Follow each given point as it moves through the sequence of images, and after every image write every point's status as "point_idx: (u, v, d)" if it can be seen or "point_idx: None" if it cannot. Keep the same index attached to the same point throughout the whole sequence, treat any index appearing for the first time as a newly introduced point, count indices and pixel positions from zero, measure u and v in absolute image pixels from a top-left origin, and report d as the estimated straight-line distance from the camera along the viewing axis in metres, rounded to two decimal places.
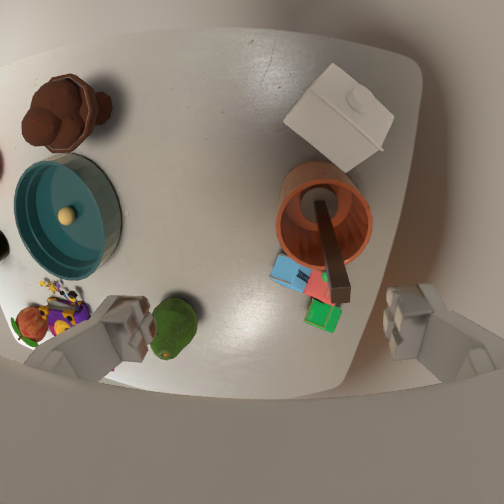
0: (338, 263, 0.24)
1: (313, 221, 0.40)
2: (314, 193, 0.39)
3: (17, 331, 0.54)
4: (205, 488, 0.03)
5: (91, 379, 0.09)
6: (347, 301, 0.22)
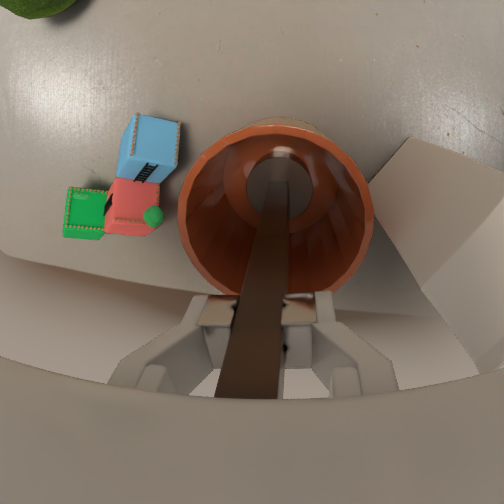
0: (283, 365, 0.08)
1: (250, 180, 0.23)
2: (302, 181, 0.22)
3: None
4: (205, 488, 0.03)
5: (182, 393, 0.08)
6: None
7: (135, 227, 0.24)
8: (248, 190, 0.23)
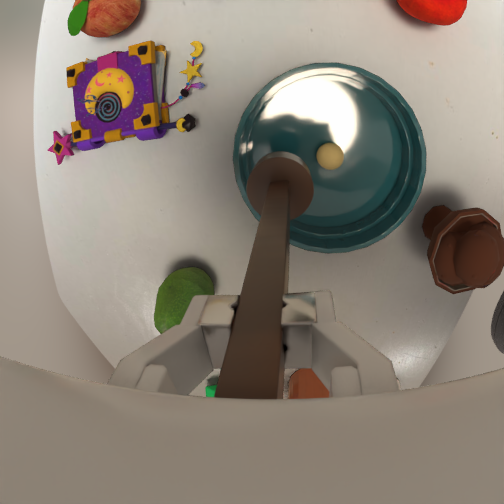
0: (283, 365, 0.08)
1: (250, 180, 0.23)
2: (302, 181, 0.22)
3: None
4: (205, 488, 0.03)
5: (182, 393, 0.08)
6: None
7: None
8: (249, 190, 0.23)
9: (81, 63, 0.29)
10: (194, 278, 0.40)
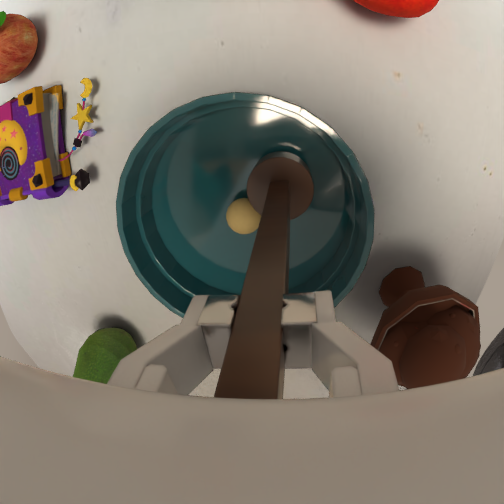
0: (283, 365, 0.08)
1: (250, 180, 0.23)
2: (302, 181, 0.22)
3: None
4: (205, 488, 0.03)
5: (182, 393, 0.08)
6: None
7: None
8: (249, 190, 0.23)
9: None
10: (109, 344, 0.34)
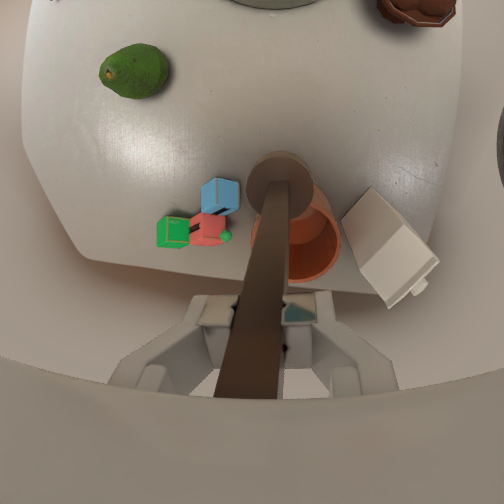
0: (283, 364, 0.08)
1: (250, 180, 0.23)
2: (302, 180, 0.22)
3: None
4: (205, 488, 0.03)
5: (182, 393, 0.08)
6: None
7: (212, 241, 0.44)
8: (249, 190, 0.23)
9: None
10: None
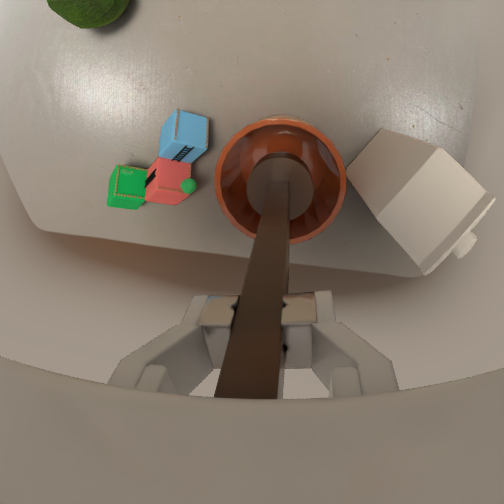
0: (283, 365, 0.08)
1: (250, 180, 0.23)
2: (302, 181, 0.22)
3: None
4: (205, 488, 0.03)
5: (182, 392, 0.08)
6: None
7: (172, 195, 0.32)
8: (249, 190, 0.23)
9: None
10: None
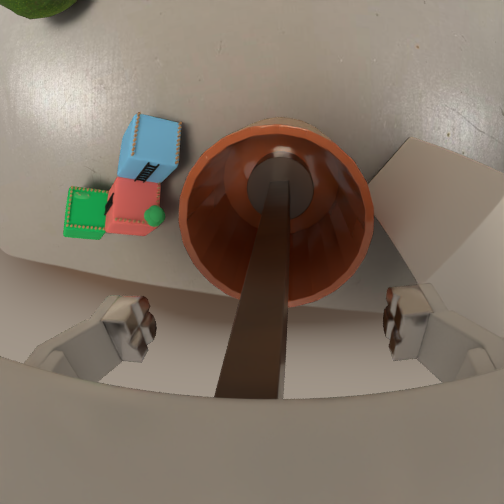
0: (284, 363, 0.08)
1: (250, 180, 0.23)
2: (302, 180, 0.22)
3: None
4: (205, 488, 0.03)
5: (91, 379, 0.09)
6: None
7: (136, 227, 0.24)
8: (249, 190, 0.23)
9: None
10: None
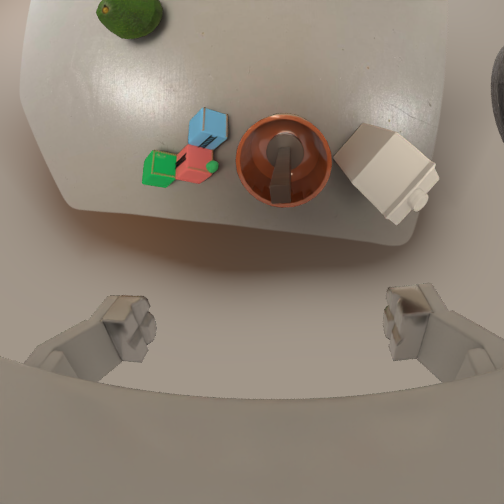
0: (290, 184, 0.25)
1: (268, 147, 0.39)
2: (297, 147, 0.39)
3: None
4: (205, 488, 0.03)
5: (91, 379, 0.09)
6: (273, 201, 0.22)
7: (199, 174, 0.41)
8: (267, 152, 0.40)
9: None
10: None
